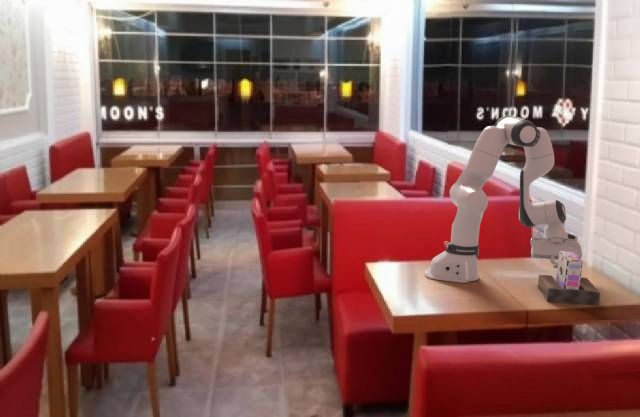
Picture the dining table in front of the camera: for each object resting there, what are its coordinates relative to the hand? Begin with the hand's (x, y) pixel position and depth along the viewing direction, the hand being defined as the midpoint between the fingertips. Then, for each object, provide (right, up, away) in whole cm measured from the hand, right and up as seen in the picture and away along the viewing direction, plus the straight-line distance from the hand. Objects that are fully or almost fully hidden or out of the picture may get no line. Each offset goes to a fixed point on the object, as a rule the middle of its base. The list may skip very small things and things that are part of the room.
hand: (557, 267), depth 280 cm
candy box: (-3, -10, -18) cm, 20 cm away
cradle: (-2, -9, -16) cm, 19 cm away
